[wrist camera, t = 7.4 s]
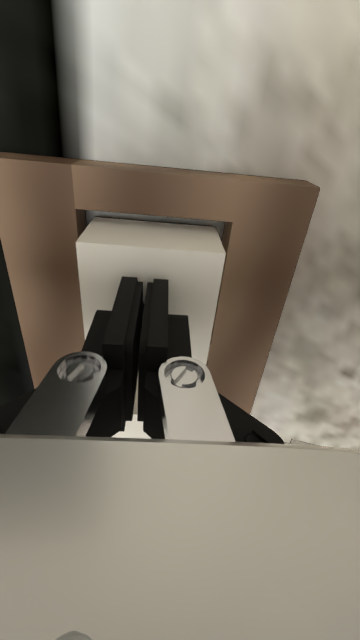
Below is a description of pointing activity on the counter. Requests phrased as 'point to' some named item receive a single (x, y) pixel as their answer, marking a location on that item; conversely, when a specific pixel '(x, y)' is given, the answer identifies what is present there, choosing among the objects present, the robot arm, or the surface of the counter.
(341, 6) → the counter surface
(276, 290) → the keypad board
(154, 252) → the keypad button
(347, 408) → the counter surface
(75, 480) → the robot arm
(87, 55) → the counter surface
